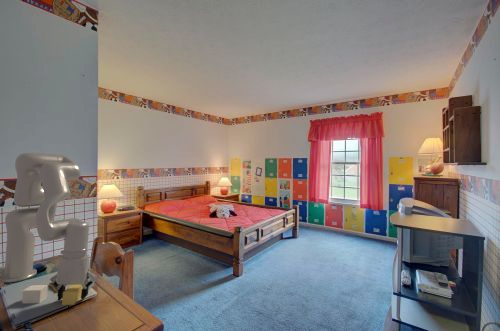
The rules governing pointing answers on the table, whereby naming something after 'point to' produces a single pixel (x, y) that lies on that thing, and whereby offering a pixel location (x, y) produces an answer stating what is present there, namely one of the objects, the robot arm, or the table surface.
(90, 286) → the slate brick
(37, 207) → the robot arm
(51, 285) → the shard
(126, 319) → the table surface
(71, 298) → the mustard brick
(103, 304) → the table surface
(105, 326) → the table surface
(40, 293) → the cream brick
